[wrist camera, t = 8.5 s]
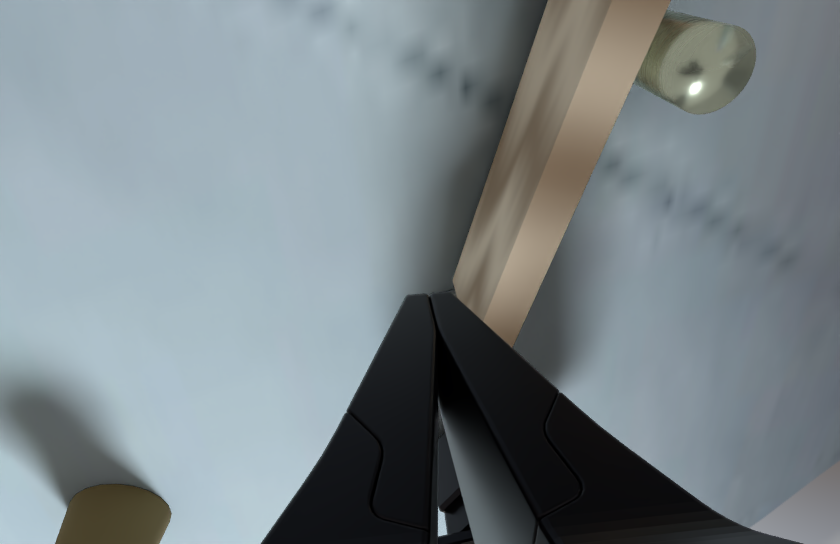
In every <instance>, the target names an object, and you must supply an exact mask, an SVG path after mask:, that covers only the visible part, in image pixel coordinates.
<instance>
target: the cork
mask: <svg viewBox="0 0 840 544" xmlns="http://www.w3.org/2000/svg"><path fill="white" fill-rule="evenodd" d="M170 518H171V511H170V508H169V506H168V505H167V503H166V502H165V501H164V500H163V499H162V498H161V497H159V496H157V495H155V494H153V493H152V492H150V491H148V490H144V489H141V488H138V487H135V486H129V485H121V484H106V485H97V486H93V487H90V488H86V489H84V490H82V491H81V492H79V493H77V494H76V495H75V496H74V497H73V499H72V500H71V501H70V503H69V506H68V509H67V512H66V515H65V517H64V520H63V523H62V526H61V529H60V531H59V534H58V537H57V540H56V543H55V544H159V543H160V541H161V539H162V537H163V535H164V533H165V530H166V528H167V526H168V524H169V522H170Z"/></svg>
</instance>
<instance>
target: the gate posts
mask: <svg viewBox="0 0 840 544" xmlns="http://www.w3.org/2000/svg"><path fill="white" fill-rule="evenodd" d="M755 61H756V48H755V44H754V41H753V39H752V37H751V36H750V34H749V33H748V32H747V31H745V30H744V29H743V28H741V27H738V26H735V25H730V24H726V23H722V22H717V21H713V20H709V19H704V18H700V17H696V16H692V15H687V14H683V13H679V12H674V11H670V10H666V12H665V14H664V17H663V19H662V21H661V23H660V25H659V27H658V30H657V32H656V34H655V36H654V38H653V41H652V43H651V45H650V47H649V49H648V52H647V54H646V56H645V58H644V60H643V63H642V65H641V67H640V69H639V71H638V73H637V76H636V78H635V80H634V82H633V84H635V85H637V86H639V87H641V88H643V89H645V90H646V91H648V92H650V93H652V94H654V95H656V96H658V97H660V98H661V99H663V100H665V101H667V102H669V103H671V104H673V105H675V106H676V107H678V108H680V109H682V110H684V111H686V112H688V113H692V114H707V113H711V112H714V111H716V110H718V109H720V108H722V107H724V106H726V105H727V104H728V103H730V102H731V101H732V100H733V99H735V98H736V97H737V96H738V95H739V93H740V92H741V91H742V90H743V89H744V87H745V86H746V84H747V82H748V81H749V79H750V77H751V75H752V72H753V69H754V66H755ZM447 292H451V293H453V294H454V295H455V296H456V297H457V295H456V291H455V290H450V291H447Z"/></svg>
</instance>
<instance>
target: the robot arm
mask: <svg viewBox="0 0 840 544" xmlns="http://www.w3.org/2000/svg"><path fill="white" fill-rule="evenodd" d="M438 403H439V409H440V413H441V417H442V421H443V425H444V429H445V433H444V434H443V435H442V436H441V437H440V438H439V439H438V430H439V416H438ZM438 507H439V510H440V511H441V512H444V513H445V520H446V527H447V534H448V535H443V536H439V537H438ZM261 544H802V543H799V542H795V541H791V540H787V539H783V538H779V537H776V536H771V535H768V534H764V533H761V532H758V531H755V530H752V529H749V528H747V527H744V526H742V525H740V524H738V523H736V522H734V521H732V520H730V519H728V518H726V517H724V516H722V515H721V514H719V513H717V512H716V511H714V510H712V509H711V508H710V507H708V506H707V505H705V504H704V503H702V502H701V501H699V500H698V499H697V498H695V497H694V496H693V495H691V494H690V493H689V492H687V491H686V490H684V489H683V488H682V487H680V486H679V485H678V484H676V483H675V482H674V481H672V480H671V479H670V478H668V477H667V476H665V475H664V474H663V473H661V472H660V471H659V470H657V469H656V468H655V467H653V466H652V465H651V464H649V463H648V462H647V461H645V460H644V459H642V458H641V457H640V456H638V455H637V454H636V453H634V452H633V451H632V450H630V449H629V448H628V447H626V446H625V445H624V444H622V443H621V442H620V441H619V440H617V439H616V438H615V437H613V436H612V435H611V434H609V433H608V432H607V431H606V430H604V429H603V428H602V427H600V426H599V425H598V424H597V423H596V422H595V421H593V420H592V419H591V418H590V417H589V416H588V415H586V414H585V413H584V412H583V411H582V410H581V409H579V408H578V407H577V406H576V405H575V404H574V403H573V402H572V401H570V400H569V399H568V398H567V397H566V396H565V395H564V394H563V393H559V390H558V389H557V388H556V387H555V386H554V385H553V384H551V383H550V382H549V381H548V380H547V379H546V378H545V377H544V376H543V375H542V374H541V373H539V372H538V371H537V370H536V369H535V368H534V367H533V366H532V365H531V364H530V363H528V362H527V361H526V360H525V359H524V358H523V357H522V356H521V355H520V354H519V353H517V352H516V351H515V350H514V349H513V348H512V347H511V346H510V345H509V344H508V343H506V342H505V341H504V340H503V339H502V338H501V337H500V336H499V335H498V334H497V333H495V332H494V331H493V330H492V329H491V328H490V327H489V326H488V325H487V324H486V323H484V322H483V321H482V320H481V319H480V318H479V317H478V316H477V315H476V314H475V313H473V312H472V311H471V310H470V309H469V308H468V307H467V306H466V305H465V304H464V303H462V302H461V301H460V300H459V299H458V298H457V297H456V296H455V295H454V294H453V293H451V292H438V293H431V294H430V295H429V296H428V295H427V294H413V295H407V296H406V297H405V299H404V301H403V303H402V305H401V306H400V308H399V310H398V312H397V314H396V316H395V318H394V320H393V322H392V324H391V326H390V328H389V330H388V332H387V333H386V335H385V337H384V339H383V341H382V343H381V345H380V347H379V349H378V351H377V353H376V355H375V357H374V359H373V360H372V362H371V364H370V366H369V368H368V370H367V372H366V374H365V376H364V378H363V380H362V382H361V384H360V386H359V387H358V389H357V391H356V393H355V395H354V397H353V399H352V401H351V403H350V405H349V407H348V409H347V413H345V414H344V416H343V418H342V420H341V422H340V424H339V426H338V428H337V429H336V431H335V433H334V435H333V437H332V438H331V440H330V442H329V444H328V445H327V447H326V449H325V451H324V452H323V454H322V456H321V457H320V459H319V460H318V462H317V463H316V465H315V466H314V468H313V469H312V471H311V472H310V474H309V475H308V477H307V478H306V480H305V481H304V483H303V484H302V486H301V487H300V489H299V490H298V491H297V493H296V494H295V496H294V497H293V498H292V500H291V501H290V503H289V504H288V506H287V507H286V508H285V510H284V511H283V513H282V514H281V516H280V517H279V518H278V520H277V521H276V523H275V524H274V526H273V527H272V528H271V530H270V531H269V533H268V534H267V535H266V537H265V538H264V540H263V541H262V543H261Z"/></svg>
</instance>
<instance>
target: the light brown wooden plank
mask: <svg viewBox="0 0 840 544" xmlns="http://www.w3.org/2000/svg"><path fill="white" fill-rule="evenodd" d="M670 1H671V0H548V2H547V5H546V8H545V11H544V14H543V16H542V19H541V22H540V25H539V28H538V31H537V34H536V37H535V40H534V43H533V46H532V49H531V52H530V55H529V57H528V60H527V63H526V66H525V69H524V72H523V75H522V78H521V81H520V84H519V87H518V90H517V93H516V96H515V98H514V101H513V104H512V107H511V110H510V113H509V116H508V119H507V122H506V125H505V128H504V131H503V134H502V137H501V140H500V142H499V145H498V148H497V151H496V154H495V157H494V160H493V163H492V166H491V169H490V172H489V175H488V178H487V181H486V183H485V186H484V189H483V192H482V195H481V198H480V201H479V204H478V207H477V210H476V213H475V216H474V219H473V222H472V224H471V227H470V230H469V233H468V236H467V239H466V242H465V245H464V248H463V251H462V254H461V257H460V260H459V263H458V266H457V268H456V271H455V274H454V277H453V284H454V288H455V291H456V295H457V298H458V299H459V300H460V301H461V302H462V303H464V304H465V305H466V306H467V307H468V308H469V309H470V310H471V311H472V312H473V313H475V314H476V315H477V316H478V317H479V318H480V319H481V320H482V321H483V322H484V323H486V324H487V325H488V326H489V327H490V328H491V329H492V330H493V331H494V332H495V333H497V334H498V335H499V336H500V337H501V338H502V339H503V340H504V341H505V342H506V343H508V344H509V345H510V346H511V347H513V345H514V343H515V341H516V338H517V336H518V334H519V332H520V330H521V327H522V325H523V323H524V321H525V319H526V317H527V314H528V312H529V310H530V308H531V306H532V303H533V301H534V299H535V297H536V295H537V292H538V290H539V288H540V286H541V284H542V281H543V279H544V277H545V275H546V273H547V271H548V268H549V266H550V264H551V262H552V260H553V257H554V255H555V253H556V251H557V249H558V246H559V244H560V242H561V240H562V238H563V236H564V233H565V231H566V229H567V227H568V225H569V222H570V220H571V218H572V216H573V214H574V211H575V209H576V207H577V205H578V203H579V200H580V198H581V196H582V194H583V192H584V190H585V187H586V185H587V183H588V181H589V179H590V176H591V174H592V172H593V170H594V168H595V165H596V163H597V161H598V159H599V157H600V154H601V152H602V150H603V148H604V146H605V144H606V141H607V139H608V137H609V135H610V133H611V130H612V128H613V126H614V124H615V122H616V119H617V117H618V115H619V113H620V111H621V109H622V106H623V104H624V102H625V100H626V98H627V95H628V93H629V91H630V89H631V87H632V84H633V82H634V80H635V78H636V76H637V73H638V71H639V69H640V67H641V65H642V63H643V60H644V58H645V56H646V54H647V52H648V49H649V47H650V45H651V43H652V41H653V38H654V36H655V34H656V32H657V30H658V27H659V25H660V23H661V21H662V19H663V17H664V14H665V12H666V10H667V8H668V6H669V3H670Z"/></svg>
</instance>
